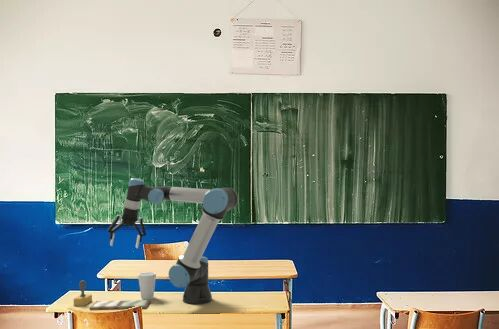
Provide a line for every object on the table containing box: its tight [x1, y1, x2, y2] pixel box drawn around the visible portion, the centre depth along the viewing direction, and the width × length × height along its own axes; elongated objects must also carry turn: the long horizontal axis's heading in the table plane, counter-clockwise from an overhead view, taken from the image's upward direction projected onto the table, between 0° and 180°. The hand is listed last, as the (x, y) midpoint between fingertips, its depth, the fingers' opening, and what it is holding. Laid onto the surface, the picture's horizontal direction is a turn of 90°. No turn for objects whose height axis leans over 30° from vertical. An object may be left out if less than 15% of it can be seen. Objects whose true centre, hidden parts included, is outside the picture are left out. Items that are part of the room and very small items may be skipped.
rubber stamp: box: [73, 280, 93, 307], centre depth 287 cm, size 10×6×12 cm, turn 172°
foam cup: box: [137, 271, 157, 300], centre depth 296 cm, size 10×9×13 cm
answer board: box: [89, 299, 152, 311], centre depth 281 cm, size 28×13×1 cm, turn 91°
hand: (124, 246), depth 291 cm, fingers open, 13 cm apart
